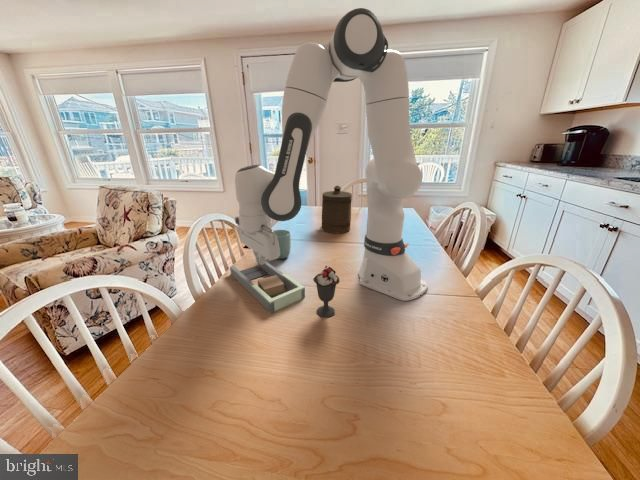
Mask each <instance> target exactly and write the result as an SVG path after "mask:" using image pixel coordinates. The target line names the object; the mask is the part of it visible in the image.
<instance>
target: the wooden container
mask: <svg viewBox="0 0 640 480" xmlns="http://www.w3.org/2000/svg"><path fill="white" fill-rule="evenodd" d="M333 189H334V190H333V191H324V192H322V199H321V200H322V205H321V230H322V231H323V232H326V233H331V234H344V233H347V232H349V231H350V230H351V222H352V200H353V194H352V193H351V192H348V191H343V190H342V187H341V186H340V185H335V186H334V187H333Z"/></svg>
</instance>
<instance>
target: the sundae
mask: <svg viewBox="0 0 640 480" xmlns="http://www.w3.org/2000/svg"><path fill="white" fill-rule="evenodd" d="M312 279H313V282H314V283H315V285H316V289H317V290H316V291H317V295H318V299H320V301H321V302H323V305H321V306H319V307H317V309H316V314H317V315H318V316H319V317H321V318H326V319H327V318H331V317H332V316H335V313H336V310H335V309H334V308H333V307H332V306H330V305H329V303H330V302H331V301H332V300H333V299H334V297H335V292H336V287H337V285H338V284H339V283H340V278H339V276H337V274H336V270H334V269H333V268H332V267H330V266H329V267H328V265H325V267H324V269H322V271H321V272H320V273H318V274H316V275H315V276H314V278H312Z"/></svg>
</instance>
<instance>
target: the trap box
mask: <svg viewBox="0 0 640 480" xmlns="http://www.w3.org/2000/svg"><path fill="white" fill-rule="evenodd" d="M229 270H230V275H231V276H232V277H233V278H234V279H236V281H237V282H238V283H239V284H240V285H241V286H242V287H244V289H245V290H246V291H248V293H249V294H251V295H252V297H254V298H255V299H256V301H258V302H259V303H260V304H261V305H262V306H263V308H265V309H266V310H267V311H268V312H269V313H271V314H272V313H274V312H277V311H279V310H280V309H283V308H286V307H287V306H290V305H291V304H294V303H296V302H298V301H300V300H303V299H305V298H306V291H305V289H306V287H305V286H304V285H302V284H301V283H300V282H298V281H297V280H295V279H294V278H292V277H291V276H290V275H288V274H286V273H284V272H282V271H281V270H279V269H278V268H277V267H275V266H274V265H272V264H271V263H269V262H268V261H266V260H265V264H263V265H260V264H259V263H258V262H257V264H256V265H253V266H251V267H248V268H244V269H242V270H239V269H238V268H237V267H236V266H234V265H230V266H229ZM267 275H270V277H271V276H275V275H277V276H278V278H279V279H280V280H281V281H282V282H283V283H284V287H286V288H287V289H288V291H285V292H284V293H283V294H281V295H278V296H276V297H274V298H271V297H270V296H268V295H267V294H266V293H265V292H264V291H263V290H262V289H261V288H259V287H258V284H255V283H254V282H252V281H253V280H255V279H258V278H261V277H264V276H267Z"/></svg>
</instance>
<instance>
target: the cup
mask: <svg viewBox="0 0 640 480" xmlns="http://www.w3.org/2000/svg"><path fill="white" fill-rule="evenodd" d="M272 231H273V232H274V233H275V234H276V236H277V238H278V243H279V248H280V257H279V258H277V259H279V260H282V259H287V258H288V257H289V255H290V254H291V248H292V247H291V245H292V244H291V242H292V241H291V232H290V231H289V230H286V229H275V230H272ZM277 259H276V260H277Z"/></svg>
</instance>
